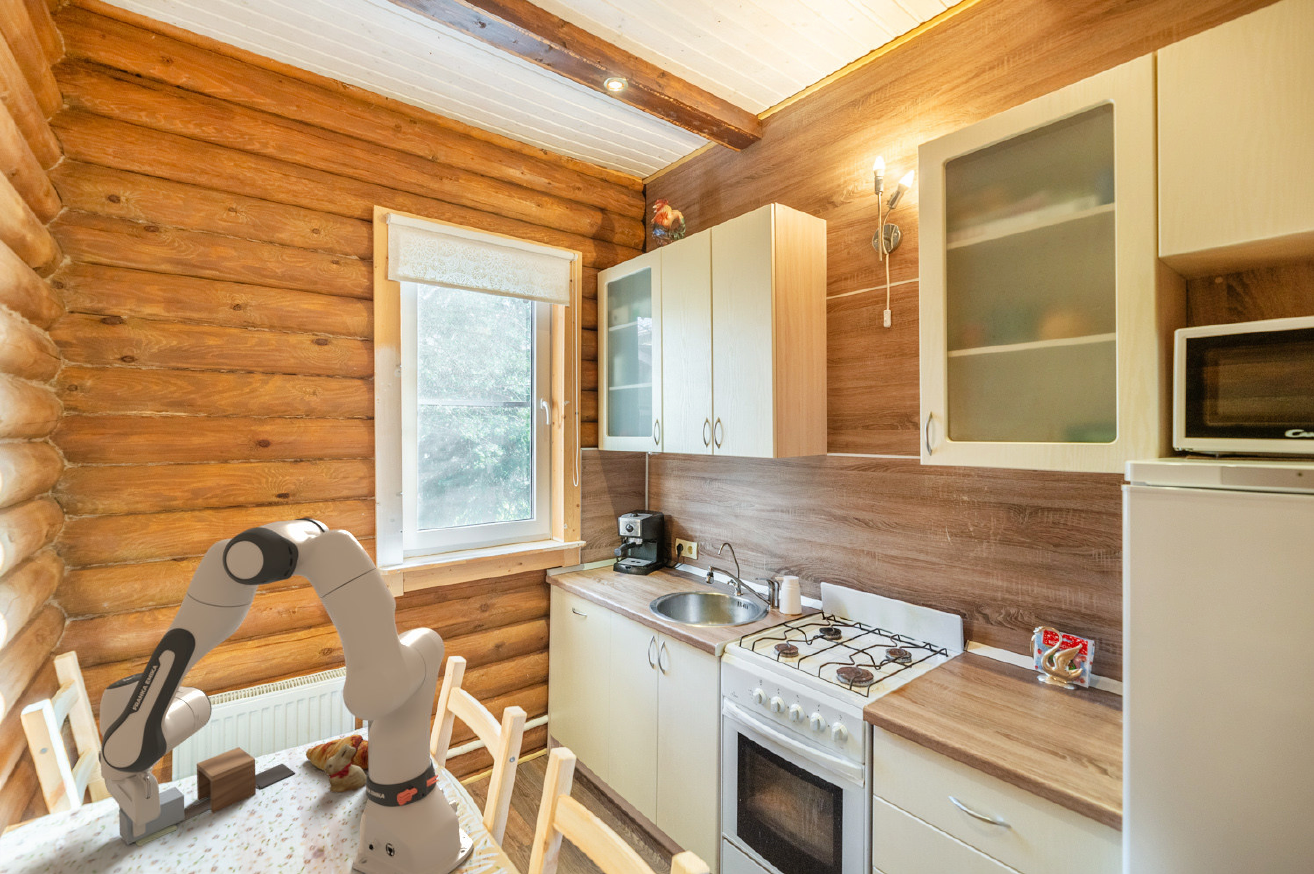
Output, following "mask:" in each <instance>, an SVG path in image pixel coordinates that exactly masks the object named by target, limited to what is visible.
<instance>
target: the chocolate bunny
mask: <svg viewBox="0 0 1314 874" xmlns="http://www.w3.org/2000/svg"><path fill="white" fill-rule="evenodd" d="M355 753H356V749H355V748H354V747H350V746H349V745H348V744H345V745H344V746H343V747H342V748H341V749H340V750H339V751H338V753H337V754H336V755H335V756H333V757H331V758H329V759H328V760H327V762H326V765H325V771H324V772H325V774H326V775H327V776H328V777H329V779H328V782H329V784H330V787H329V791H330V792H331V793H346V792H350V791H354V790H357V789H360V788H361V787H363V786H366V776H367V774H366V773H365V771H364V769H362V768H361V767H359V766H356V765H351V762H350V760H351V757H352V756H353V755H354V754H355Z"/></svg>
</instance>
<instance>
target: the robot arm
mask: <svg viewBox="0 0 1314 874" xmlns="http://www.w3.org/2000/svg"><path fill="white" fill-rule="evenodd" d="M294 576H299V577H300V576H301V577H303V578H305V579H306V580H307V581H308V582H309V583H310V585H311V586H312V587H313V589H314V591H315V593H316V594H317V597H318V599H319V601H320V602H321V604H322V605H323V607H324V610H325V612H326V613H327V615H328V616H329V618H330V620H331V622H332V624H333V626H334V628H335V630H336V632H337V634H338V636H339V640H340V642H341V647H342V650H343V656H344V663H345V672H346V673H345V681H344V685H343V689H342V698H343V703H344V705H345V707H346V709H347V711H348V712H349V713H350V714H351V715H353V716H354V717H355V718H357V719H360V720H361V721H367V722H368V721H372V720H374V721H373V723H372V725H371V728H370V731H369V735H368V734H367V741H368V759H369V771H368V770H367V773H366V784H365V789H366V790H365V792H366V793H365V794H366V797H367V801H366V804H365V807H364V810H363V812H362V814H361V816H360V825H359V838H358V839H359V841H358V851H357V852H356V854H355V855H354V857H353V860H352V866H351V867H352V868H353V869H354V870H356V871H359V872H361V873H363V874H450V873H451V872H452V871H453V870H455V869H456V868H457V867H459V866H460V865H461V864H462V863H464V861H465V860H466V859H467V858H468V857H469V856H470V854H471V852H472V851H473V849H474V840H472V839H471V837H469V835H468V834H467V833H466V832H465V831H464V829H462V828H461V826H460V822H459V818H458V815H457V812H458V805H457V802H456V801H455V800H451V801H448V799H447V797H446V796H445V794H444V790H443V788H442V787H441V788H440V787H439V786H438V784H437V782H438V781H439V779H437V778H438V777H439V774H436V772H435V771H436V770H435V766H434V764H433V760H432V758H431V720H432V719H431V718H432V711H433V705H434V699H435V694H436V690H437V683H438V677H439V672H440V668H441V665H442V662H443V660H444V657H445V651H446V647H445V643H444V640H443V638H442V637H441V636H440V634H439V633H438V632H437V631H435V630H434V629H432V628H428V627H417V628H412V629H409V630H406V631H404V632H402V633H400V634H399V632H398V628H397V624H396V619H395V618H396V617H395V615H396V614H395V613H396V608H397V603H396V602H397V601H396V599H395V597H394V596H393V594H392V592H391V590H390V589H389V587H388V585H387V584H386V582H385V580H384V578H383V576H382V575H381V572H380V570H379V569H378V568H377V566H376V564H375V562H374V561H373V559H372V558H371V557H370V555H369V554H368V552H367V551H366V550H365V548H364V547H363V545H362V544H361V543H360V542H359V541H358V540H357V538H355V536H354V535H353V534H352V533H350V531H347V530H344V529H329V527H328V526H327V525H326V524H325V523H323V522H322V521H320V520H317V519H314V518H307V517H306V518H304V517H303V518H296V519H292V520H291V519H290V520H284V521H283V520H279V521H274V522H270V523H266V524H263V525H259V526H258V527H250V528H248V529H246V530H243V531H242V532H239V533H238V534H237V535H234V536H233V537H232V538H225V539H221V540H219V541H216V542H215V543H213V544H212V545H211V546H210V547H209V548H208V549H207V551H206V552H205V554H204V556H203V557H202V559H201V560H200V562H199V564H198V566H197V567H196V570H195V572H194V574H193V576H192V578H191V581H190V583H189V585H188V588H187V591H186V593H185V595H184V598H183V600H182V603H181V605H180V606H179V609H178V611H177V612H176V615H175V616H174V618H173V620H172V622H171V624H170V625H169V627H168V629H167V630H166V632H165V634H164V635H163V637H162V638H161V639H160V641H159V643H158V644H157V645H156V647H155V648H154V651H153V653H152V655H151V656H150V657H149V660H148V662H147V664H146V666H145V668H144V670H143V672H138V673H135V674H132V675H131V674H130V675H129V676H127V677H123V678H121V679H118V680H117V681H115V682H113V683H111V684H110V685H108V686H107V687H106V688H105V689H104V691H103V693H102V696H101V699H100V703H99V704H100V705H99V732H100V734H101V736H102V741H101V742H102V743H101V747H100V750H99V751H98V754H97V756H98V761H99V763H100V776H101V778H103V779H104V783H105V787H106V791H107V792H108V794H109V795H110V796H111V797H112V799H113V800H114V801H115V802H116V803H117V804H118V807H119V809H123V810H124V812H125V813H126V814H127V815H128V816H129V818H130V819H131V820H132V821H133V826H131V830H132V834H133V836H134V837H137V836H139V835H142V834H144V833H145V831H146V826H145V824H146V823H148V822H150V821H152V820H154V819H156V818H158V817H159V815H160V796H159V793H160V788H159V782H158V779H157V777H156V776H155V775H154V773H152V772H153V770H154V767H155V766H156V765H157V764H158V763H159V762H160V761H161V759H162V758H163V757H164V756H165V755H166V754H168V753H169V752H171V751H172V750H174V749H175V748H177V747H178V746H180V745H181V744H182V743H183V742H185V741H186V740H187V739H190V737H192V736H193V735H195V734H196V733H197V732H198V731H200V730H201V729H202V728H204V727H205V726H206V725H207V724H208V723H209V720H210V719H211V716H212V703H211V699H210V698H209V696H208V695H207V693H206V692H205V691H203V690H202V689H201V688H198V687H194V686H181V685H182V684H183V681H184V679H185V677H186V676H187V675H188V673H189V672H190V671H191V670H192V668H193V667H194V666H195V665H196V664H197V663H198V662H200V661H201V660H202V659H203V658H204V657H205V656H206V655H207V654H209V653H210V652H212V650H214V649H215V648H216V647H218V646H219V645H220V644H222V643H223V642H224V641H226V640H227V639H229V638H230V637H231V636H233V635H234V634H235V633H236V632H237V631H238V630H239V628H240V627H241V625H242V624H243V623H244V621H245V619H246V618H247V616H248V614H249V612H250V609H251V608H252V606H253V605H252V604H253V602H254V599H255V596H256V593H257V591H258V588H259V586H262V585H263V586H264V585H268V584H273V583H276V582H281V581H285V580H288V579H289V580H290V579H291V578H292V577H294Z"/></svg>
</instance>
